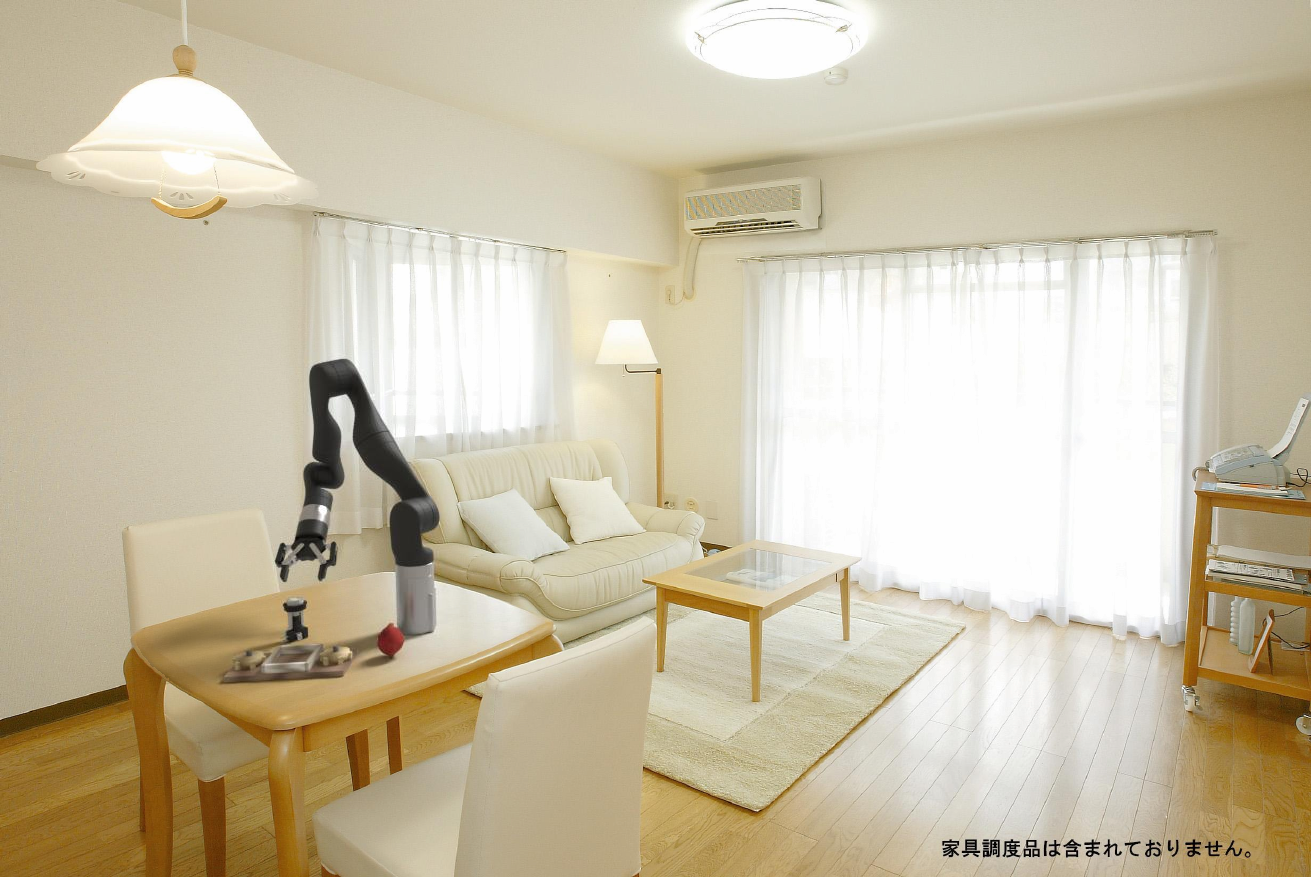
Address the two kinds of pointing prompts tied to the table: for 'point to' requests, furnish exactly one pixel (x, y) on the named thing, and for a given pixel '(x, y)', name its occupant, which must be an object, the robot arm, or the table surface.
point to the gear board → (291, 663)
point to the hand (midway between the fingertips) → (302, 580)
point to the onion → (390, 640)
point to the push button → (295, 619)
